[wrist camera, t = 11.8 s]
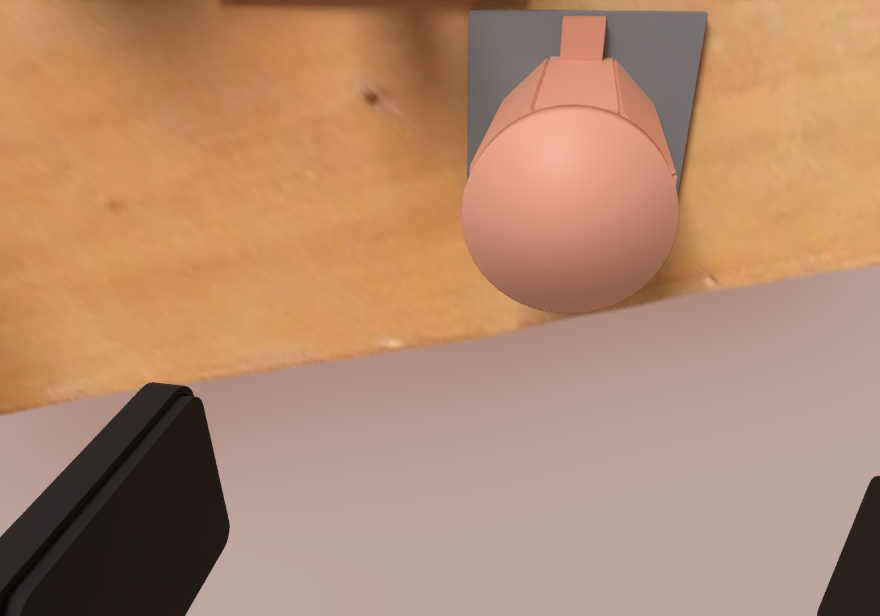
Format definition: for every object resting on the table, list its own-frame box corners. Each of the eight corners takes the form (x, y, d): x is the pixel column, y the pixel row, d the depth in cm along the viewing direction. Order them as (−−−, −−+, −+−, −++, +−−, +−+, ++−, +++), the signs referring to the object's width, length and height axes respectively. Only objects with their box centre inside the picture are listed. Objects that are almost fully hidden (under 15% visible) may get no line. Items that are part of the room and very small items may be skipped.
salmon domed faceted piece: (501, 15, 27) (461, 57, 19) (671, 17, 26) (706, 62, 18) (495, 231, 32) (460, 340, 23) (639, 241, 30) (655, 359, 22)
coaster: (468, 218, 32) (466, 223, 32) (471, 9, 28) (468, 11, 27) (669, 231, 31) (670, 236, 30) (705, 11, 26) (707, 13, 26)
